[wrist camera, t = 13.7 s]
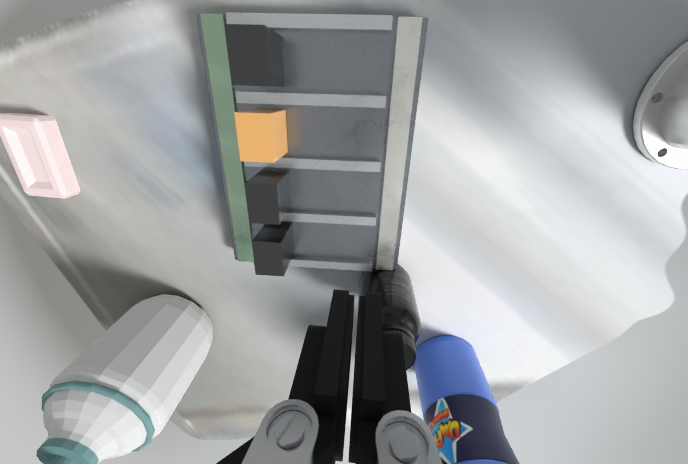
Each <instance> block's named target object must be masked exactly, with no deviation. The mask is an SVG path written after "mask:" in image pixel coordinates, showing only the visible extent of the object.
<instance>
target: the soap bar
mask: <svg viewBox="0 0 688 464" xmlns="http://www.w3.org/2000/svg"><path fill="white" fill-rule="evenodd" d="M0 137H1V140H2V142H3V144H4V146H5V149H6V151H7V153H8V155H9V158H10V160H11V162H12V165H13V167H14V169H15V171H16V174H17V176H18V178H19V180H20V183H21V185H22V187H23V189H24V192H25V193H27V194H28V195H31V196H42V197H54V198H68V197H71V196H74V195H77V194H79V192H80V188H79V185H78V182H77V179H76V176H75V174H74V171H73V168H72V165H71V162H70V159H69V157H68V154H67V151H66V148H65V145H64V142H63V139H62V137H61V134H60V131H59V128H58V125H57V122H56V120H55V119H54V118H53V117H51V116H50V115H37V114H23V113H0Z"/></svg>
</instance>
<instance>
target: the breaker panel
mask: <svg viewBox="0 0 688 464" xmlns="http://www.w3.org/2000/svg"><path fill="white" fill-rule="evenodd" d="M196 16H197V23H198V29H199V35H200V41H201V48H202V54H203V60H204V66H205V73H206V79H207V85H208V92H209V98H210V104H211V110H212V117H213V123H214V129H215V135H216V142H217V148H218V154H219V160H220V167H221V173H222V179H223V186H224V192H225V198H226V204H227V211H228V217H229V223H230V229H231V236H232V242H233V248H234V254H235V260H238V261H246V262H254V265H255V273H256V275H272V276H284V274H285V272H286V270H287V267H288V266H290V267H307V268H323V269H339V270H355V271H371V272H372V268H376V270H393V269H397V262H398V254H399V246H400V238H401V230H402V222H403V214H404V206H405V198H406V190H407V182H408V174H409V166H410V158H411V150H412V142H413V134H414V126H415V119H416V111H417V103H418V95H419V87H420V79H421V71H422V63H423V55H424V47H425V39H426V31H427V23H428V18H423V17H393V15H358V14H298V13H238V12H226V14H216V13H200V14H196ZM251 109H273V110H286V127H287V145H288V152H287V153H286V154H285V155H283V156H282V157H281V158H280V159H278V160H277V161H276V162H274V163H267V162H244V161H240V154H239V146H238V138H237V130H236V123H235V115H234V112H239V111H245V110H251Z"/></svg>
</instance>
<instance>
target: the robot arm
mask: <svg viewBox="0 0 688 464" xmlns="http://www.w3.org/2000/svg"><path fill="white" fill-rule="evenodd" d="M633 131H634V139H635V141H636V143H637V146H638V148H639V149H640V151H641V152H642V153H643V154H644V156H645V157H647V158H648V159H650V160H651V161H652V162H655V163H657V164H660V165H663V166H667V167H671V168H675V169H688V41H687V42H685V43H684V44H682V45H681V46H680V47H679V48H678V49H676V50H675V51H674V52H673V53H672V54H671V55H670V56H669V57H668V58H666V60H665V61H664V62H663V63H662V64H661V65H660V67H659V68H658V69H657V70H656V71H655V72H654V74H653V75H652V77H651V78H650V80H649V81H648V83H647V84H646V86H645V88H644V90H643V92H642V94H641V96H640V98H639V100H638V103H637V107H636V110H635V113H634V122H633ZM353 312H354V295H349V291H347V290H335V289H334V291H333V296H332V302H331V307H330V312H329V317H328V323H327V327H324V326H313V325H309V326H308V329H307V332H306V336H305V340H304V344H303V347H302V351H301V355H300V358H299V362H298V366H297V369H296V373H295V377H294V381H293V384H292V388H291V392H290V395H289V399H288V400H285V401H282V402H280V403H278V404H276V405H275V406H274V407H273V408H271V409H270V410H269V411H268V413H267V414H266V416H265V417H264V419H263V420H262V422H261V425H260V427H259V429H258V431H257V433H256V435H255V436H254V437H253V438H251V439H250V440H249V441H247V442H246V443H245V444H243V445H242V446H240V447H239V448H238V449H236V450H235V451H233V452H232V453H231V454H229V455H228V456H226V457H225V458H223V459H222V460H221V461H219V462H218V463H217V464H335V461H342V460H343V448H344V435H345V423H346V411H347V398H348V386H349V373H350V361H351V346H352V329H353ZM349 462H351V463H356V464H447V463H446V462H445V461H444V460H443V459H442V458H441V457H440V454H439V451H438V448H437V445H436V442H435V439H434V436H433V434H432V432H431V430H430V428H429V427H428V426H427V424H426V423H425V422H424V421H423V420H422V419H421V418H419V417H418V416H417V415H415V414H413V413H411V407H410V399H409V390H408V382H407V374H406V366H405V357H404V349H403V341H402V335H401V333H393V332H382V312H381V293H373V292H365V296H359V307H358V322H357V337H356V351H355V367H354V383H353V398H352V414H351V430H350V446H349Z"/></svg>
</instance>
